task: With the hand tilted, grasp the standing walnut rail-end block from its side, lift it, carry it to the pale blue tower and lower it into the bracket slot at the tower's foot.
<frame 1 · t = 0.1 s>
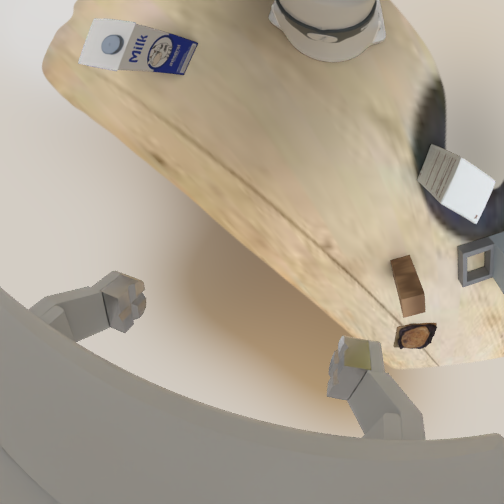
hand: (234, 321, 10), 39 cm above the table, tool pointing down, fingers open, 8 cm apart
supplement box: (439, 170, 37), on the table
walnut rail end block: (401, 266, 48), on the table
milk carton: (176, 54, 39), on the table
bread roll: (414, 333, 55), on the table
pale blue tower: (473, 258, 42), on the table
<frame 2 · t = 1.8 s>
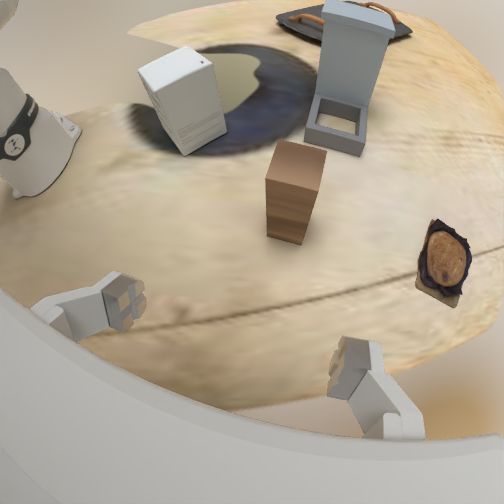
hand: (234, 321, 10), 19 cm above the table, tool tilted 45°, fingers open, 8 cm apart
supplement box: (194, 132, 37), on the table
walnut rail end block: (288, 224, 31), on the table
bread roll: (441, 263, 30), on the table
pale blue tower: (335, 129, 36), on the table
serving board: (350, 28, 48), on the table
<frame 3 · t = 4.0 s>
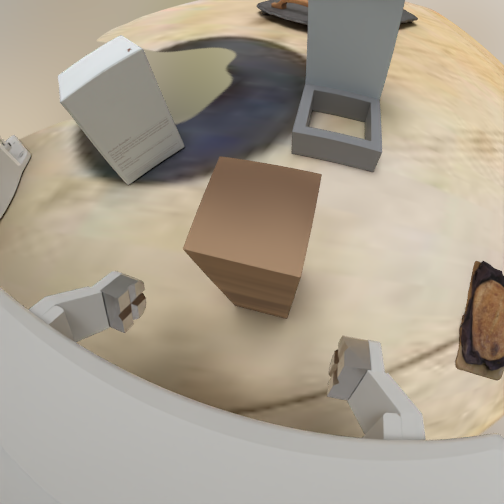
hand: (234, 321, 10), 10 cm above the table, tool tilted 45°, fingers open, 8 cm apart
supplement box: (144, 149, 27), on the table
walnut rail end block: (267, 286, 21), on the table
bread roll: (486, 322, 18), on the table
pale blue tower: (336, 133, 25), on the table
serving board: (346, 15, 39), on the table
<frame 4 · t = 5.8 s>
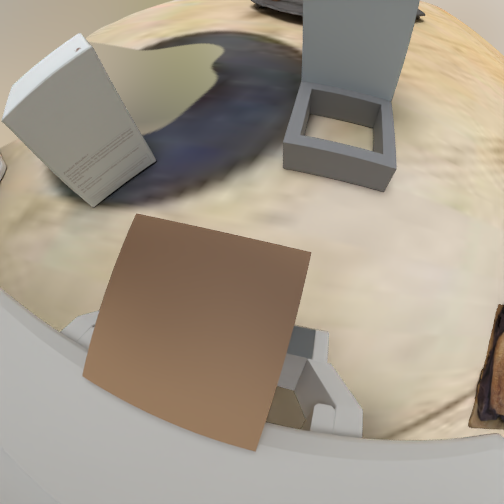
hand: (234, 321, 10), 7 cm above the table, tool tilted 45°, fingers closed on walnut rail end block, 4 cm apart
supplement box: (114, 164, 23), on the table
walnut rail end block: (248, 342, 16), on the table, touching gripper
pale blue tower: (339, 142, 21), on the table
serving board: (347, 9, 35), on the table
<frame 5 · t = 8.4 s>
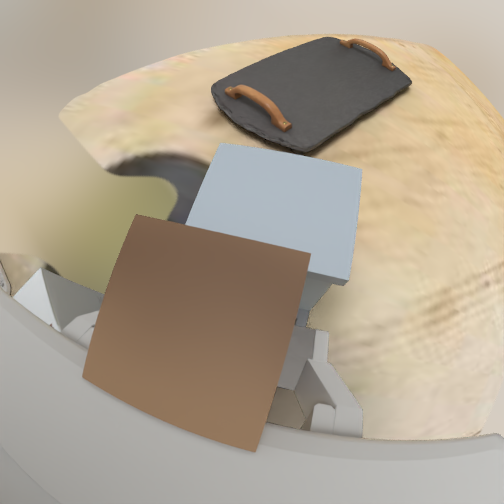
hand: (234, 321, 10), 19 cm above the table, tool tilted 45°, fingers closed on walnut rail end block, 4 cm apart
supplement box: (100, 332, 30), on the table
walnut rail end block: (248, 342, 16), point 13 cm above the table, touching gripper
pale blue tower: (261, 341, 28), on the table
serving board: (320, 87, 42), on the table
when the fingers open (8 cm above the table, at t = 11.6 s): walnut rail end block drops 1 cm, resting in pale blue tower.
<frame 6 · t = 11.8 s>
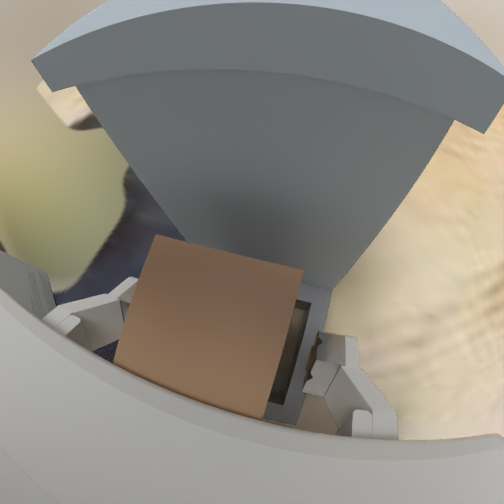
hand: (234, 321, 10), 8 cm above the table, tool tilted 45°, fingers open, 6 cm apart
supplement box: (37, 322, 19), on the table
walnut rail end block: (249, 342, 17), resting in pale blue tower
pale blue tower: (250, 342, 17), on the table
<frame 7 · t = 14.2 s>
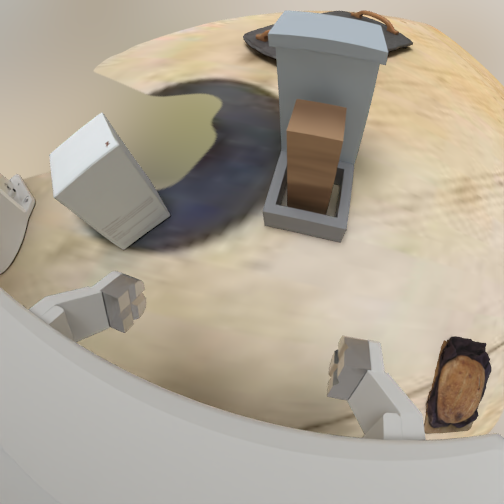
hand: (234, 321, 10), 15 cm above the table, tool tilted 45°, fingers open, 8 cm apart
supplement box: (136, 213, 31), on the table
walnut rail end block: (309, 201, 29), resting in pale blue tower
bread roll: (455, 386, 20), on the table
pale blue tower: (309, 201, 29), on the table
serving board: (335, 42, 44), on the table
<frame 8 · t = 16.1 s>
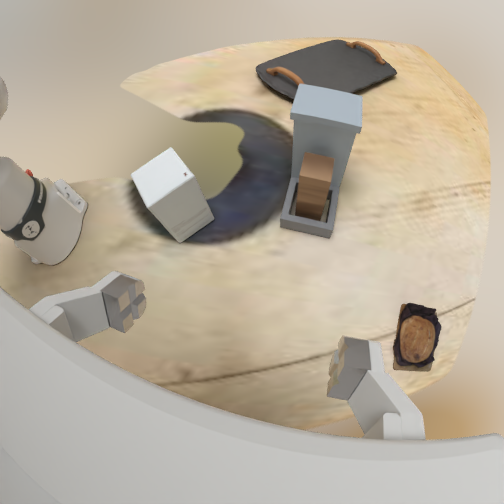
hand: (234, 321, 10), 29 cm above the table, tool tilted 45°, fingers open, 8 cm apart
supplement box: (187, 217, 46), on the table
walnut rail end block: (309, 211, 44), resting in pale blue tower
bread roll: (414, 338, 36), on the table
pale blue tower: (309, 211, 44), on the table
serving board: (330, 74, 58), on the table
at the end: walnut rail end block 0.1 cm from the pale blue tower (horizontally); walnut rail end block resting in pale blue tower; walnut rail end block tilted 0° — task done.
